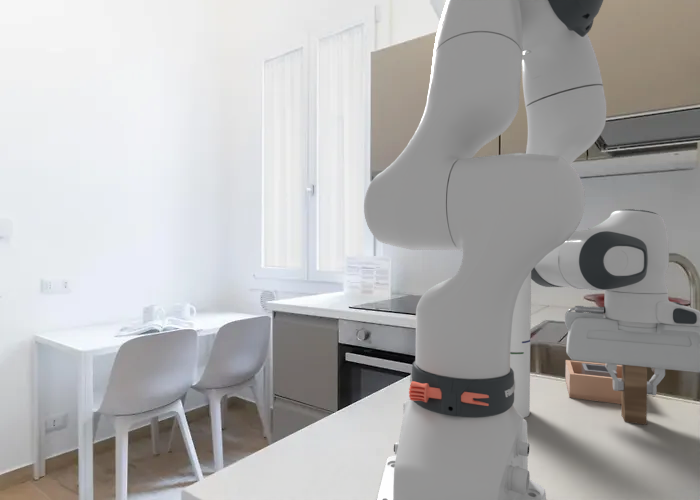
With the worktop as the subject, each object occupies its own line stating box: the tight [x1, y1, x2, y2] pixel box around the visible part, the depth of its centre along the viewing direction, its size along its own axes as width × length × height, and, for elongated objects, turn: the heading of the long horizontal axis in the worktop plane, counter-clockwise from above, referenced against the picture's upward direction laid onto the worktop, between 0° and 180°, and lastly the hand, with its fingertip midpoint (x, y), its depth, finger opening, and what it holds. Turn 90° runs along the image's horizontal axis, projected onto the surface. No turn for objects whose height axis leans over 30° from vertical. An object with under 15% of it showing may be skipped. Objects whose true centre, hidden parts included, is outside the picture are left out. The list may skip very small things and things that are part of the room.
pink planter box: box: [564, 359, 622, 405], centre depth 86 cm, size 11×11×5 cm
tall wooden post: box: [621, 365, 648, 426], centre depth 72 cm, size 3×3×12 cm
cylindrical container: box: [510, 272, 532, 419], centre depth 76 cm, size 7×7×25 cm
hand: (633, 392), depth 72 cm, fingers closed on tall wooden post, 3 cm apart
